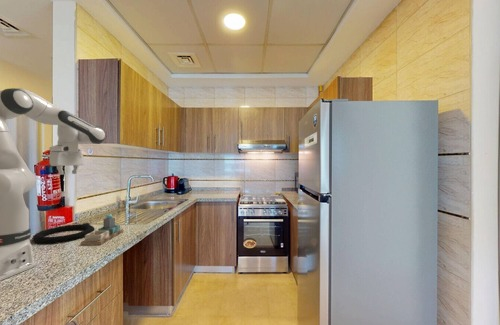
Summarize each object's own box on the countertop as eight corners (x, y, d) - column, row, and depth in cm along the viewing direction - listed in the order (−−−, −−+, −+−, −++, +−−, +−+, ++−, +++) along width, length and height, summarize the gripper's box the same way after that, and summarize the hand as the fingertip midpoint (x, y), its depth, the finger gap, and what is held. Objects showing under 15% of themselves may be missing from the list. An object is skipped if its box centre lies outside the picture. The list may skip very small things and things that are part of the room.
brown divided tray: (100, 245, 118) (100, 236, 118) (80, 245, 118) (80, 236, 118) (123, 231, 140) (123, 224, 140) (106, 232, 140) (106, 224, 140)
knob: (109, 233, 132) (109, 215, 132) (103, 233, 133) (103, 215, 133) (115, 231, 136) (114, 214, 136) (109, 231, 137) (109, 213, 137)
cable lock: (16, 237, 121) (67, 221, 151) (16, 244, 121) (67, 227, 151) (66, 238, 118) (108, 222, 148) (66, 246, 118) (108, 228, 148)
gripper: (75, 149, 137) (76, 173, 138) (46, 147, 117) (46, 175, 117) (86, 149, 138) (87, 173, 138) (59, 147, 117) (59, 175, 117)
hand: (68, 174), depth 127 cm, fingers open, 8 cm apart
